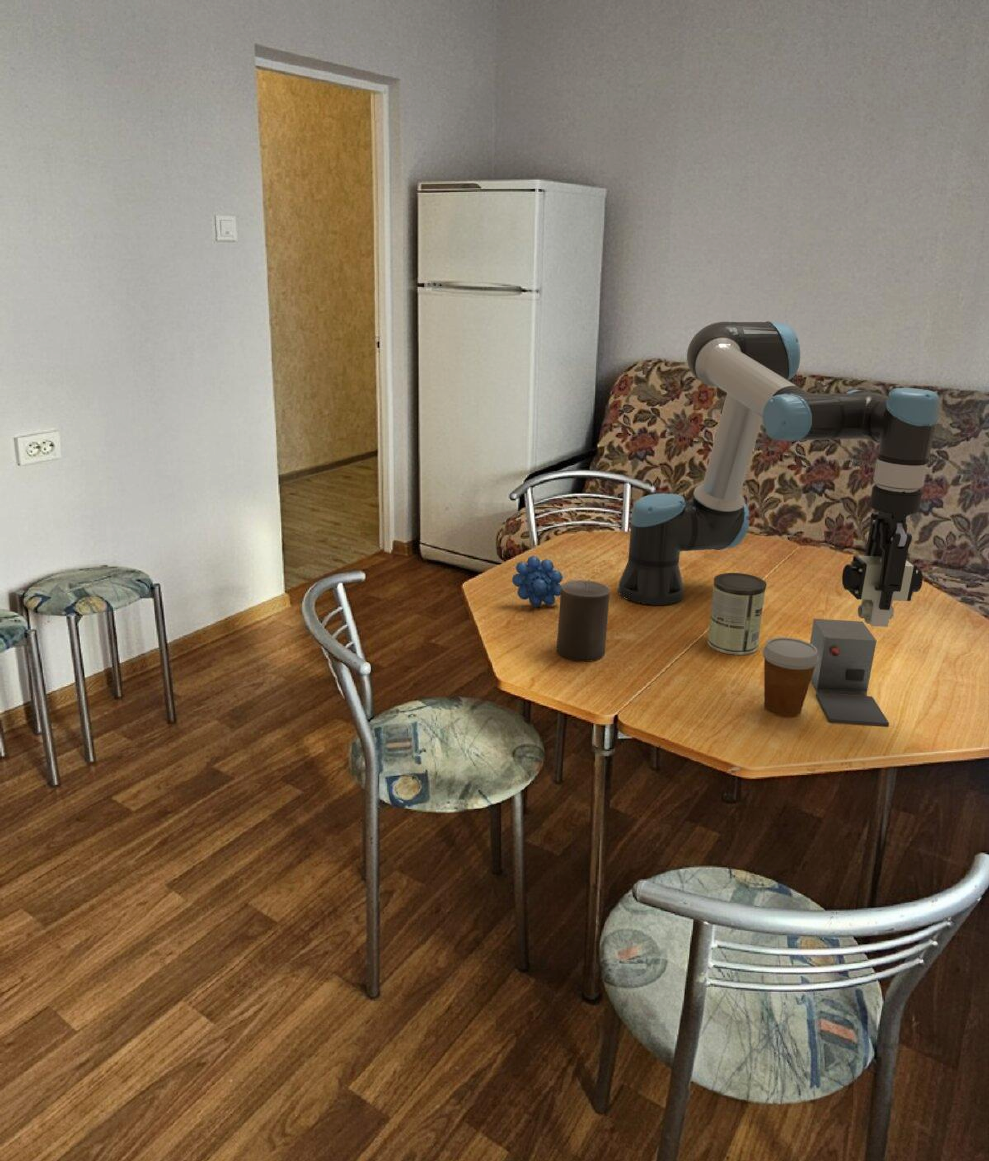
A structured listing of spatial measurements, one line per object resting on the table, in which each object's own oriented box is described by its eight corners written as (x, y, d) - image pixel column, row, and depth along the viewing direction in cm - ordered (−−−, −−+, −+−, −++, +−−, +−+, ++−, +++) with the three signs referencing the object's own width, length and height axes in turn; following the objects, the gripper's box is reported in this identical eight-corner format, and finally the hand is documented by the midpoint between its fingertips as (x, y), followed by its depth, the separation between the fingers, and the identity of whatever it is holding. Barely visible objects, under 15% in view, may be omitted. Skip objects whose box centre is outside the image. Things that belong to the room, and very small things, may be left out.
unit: (817, 693, 167) (826, 638, 163) (805, 670, 176) (813, 618, 172) (867, 696, 166) (877, 642, 162) (852, 673, 175) (862, 620, 171)
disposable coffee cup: (747, 712, 159) (756, 650, 155) (763, 691, 167) (771, 632, 163) (802, 727, 155) (813, 664, 150) (816, 705, 162) (826, 644, 158)
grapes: (513, 614, 199) (515, 562, 195) (509, 602, 206) (511, 552, 201) (565, 613, 200) (568, 562, 196) (560, 602, 207) (563, 552, 203)
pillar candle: (575, 665, 175) (581, 593, 170) (546, 647, 183) (551, 577, 178) (614, 656, 180) (621, 585, 175) (585, 638, 188) (590, 570, 183)
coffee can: (709, 632, 193) (716, 569, 188) (759, 639, 190) (768, 576, 185) (703, 650, 183) (711, 585, 179) (756, 658, 180) (765, 593, 176)
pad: (829, 722, 157) (829, 719, 156) (815, 695, 166) (815, 692, 166) (888, 726, 156) (889, 723, 155) (871, 699, 165) (872, 696, 165)
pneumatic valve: (914, 627, 152) (927, 560, 148) (844, 625, 152) (855, 557, 148) (900, 615, 157) (913, 549, 153) (833, 613, 157) (844, 547, 153)
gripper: (942, 502, 138) (914, 641, 146) (903, 474, 155) (880, 600, 163) (891, 499, 138) (866, 638, 146) (858, 472, 155) (837, 598, 163)
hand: (873, 618), depth 155 cm, fingers closed on pneumatic valve, 5 cm apart
